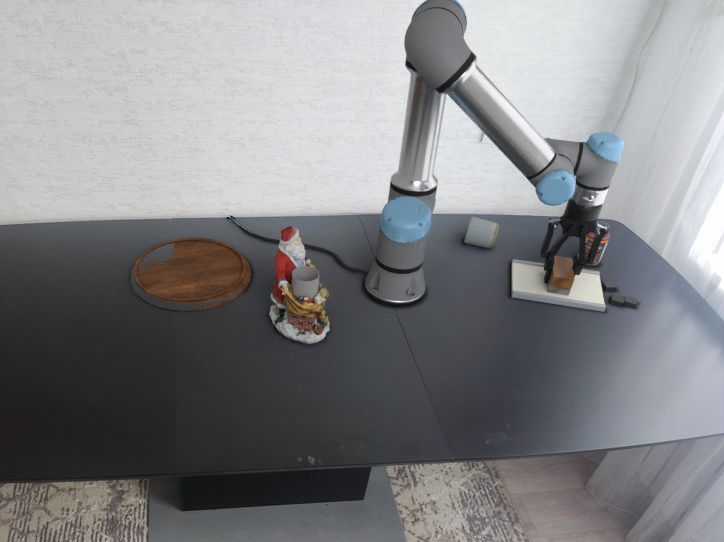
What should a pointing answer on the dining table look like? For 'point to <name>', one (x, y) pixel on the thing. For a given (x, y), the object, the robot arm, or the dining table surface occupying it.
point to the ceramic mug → (481, 232)
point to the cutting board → (195, 272)
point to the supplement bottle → (601, 248)
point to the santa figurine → (297, 292)
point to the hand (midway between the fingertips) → (557, 282)
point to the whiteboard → (532, 287)
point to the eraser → (561, 276)
